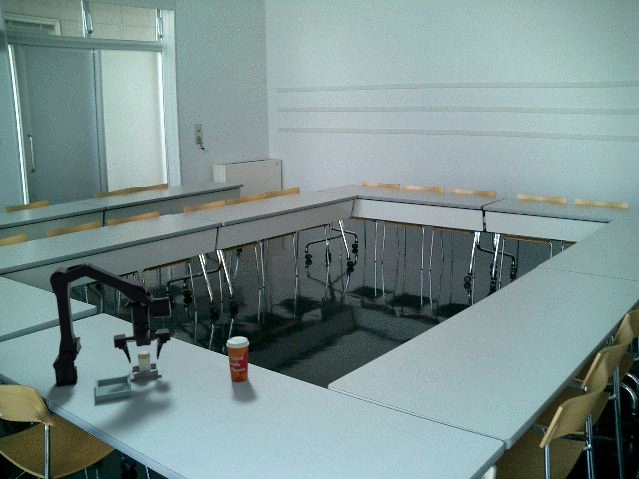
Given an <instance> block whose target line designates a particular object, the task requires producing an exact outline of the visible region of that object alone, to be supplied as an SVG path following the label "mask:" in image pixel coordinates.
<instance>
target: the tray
mask: <svg viewBox="0 0 639 479" xmlns="http://www.w3.org/2000/svg"><path fill="white" fill-rule="evenodd" d="M94 382H95V383H94V385H95V401H96V403H102V402H108V401H114V400H115V401H116V400H121V399H127V398H132V397H133V390H132V389H133V388H132V384H131V379H130V374H127V375H120V376H115V377H114V376H113V377H107V378H100V379H95V380H94Z"/></svg>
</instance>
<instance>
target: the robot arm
mask: <svg viewBox="0 0 639 479" xmlns="http://www.w3.org/2000/svg"><path fill="white" fill-rule="evenodd" d="M85 277H87V278H89V279H92V280H94V281H96V282H98V283H100V284H103V285H106V286H108V287H111V288H113V289H115V290H118V291H119V292H120V293H122V295H124V296H125V297H126V298H128V301H127V302H126V303H125V305H124V309H130V312H131V313H130V314H131V322H132V323H131V324H132V335H131V336H126V334H125V333H122V334H115V335H114V336H113V345H114V349H118V350H122V351H123V353H124V354H125V356H126V358H127V361H128V363H129V364H132V361H131V360H132V359H131V355H130V350H129V346H128V343H133V342H135V344H136V347H139V348H140V347H143V346H144V347H146V346H148V347H149V346H151V345H152V342H154V341H156V353H155V354H156V360H157V361H159V359H160V354H161V351H162V348H163V346H164V344H167V343H168V342H169V341H171V340H172V339H171V332H170V329H168V328H160V329H157V330H156V329H151V326H150V325H151V324H150V316H152V317H153V318H154V319H155V318H169V317H172V307H171V302H170V297H169V296H164V297H156V298H155V297H154V295H153V294H152V293H151V292H150V291H149V290H148V286H147V284H146V283H145V282H144V281H140V280H137V279H131V278H124V277H122V276H119V275H117V274H115V273H113V272H110V271H108V270H106V269H104V268H101V267H99V266H97V265H95V264H94V265H93V264H92V263H91V262H89V261H85V262H83V263H80V264H79V263H78V264H76V265H71V266H68V267H65V266H60V267H57V268H56V269H55V270H54V271H53V272H52V274H51V275H50V278H49V282H50V286H51V289H52V290H51V291H52V292H53V293H54V295H55V298H56V305H57V315H58V322H59V323H58V324H59V333H60V341H59V347H58V354H57V356H56V358H55V359H54V361H53V363H52V367H53V369H54V376H55V387H63V386H71V385H76V384H77V381H78V380H79V376H78V366H77V365H75V361H76V360H77V357H78V355H79V354H80V352H81V349H82V348H83V347H82V345H81V336H77V335H76V334H75V332H74V331H75V330H74V323H73V315H72V314H73V313H72V305H71V304H72V303H71V295H70V294H71V286H72V283H74V282H75V281H77V280H79V279H81V278H85ZM149 310H150V311H149Z"/></svg>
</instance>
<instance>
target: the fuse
mask: <svg viewBox="0 0 639 479" xmlns="http://www.w3.org/2000/svg"><path fill="white" fill-rule="evenodd" d="M137 360H138V364H139V372H141V371H147V370H151V363H152V362H151V351H149V350H143V351H139V352H137Z"/></svg>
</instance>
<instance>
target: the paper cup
mask: <svg viewBox="0 0 639 479" xmlns="http://www.w3.org/2000/svg"><path fill="white" fill-rule="evenodd" d="M226 342H227V343H225V344H226V347H227V354H228V362H229V363H228V364H229V371H230V380H231V381H232V382H234V383H242V382H243V383H244V382H245V381H247V380H248V378H249V345H250V342H249V340H248V338H247V337H244V336H233V337H231V338H229V339H228V340H227V341H226Z"/></svg>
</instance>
